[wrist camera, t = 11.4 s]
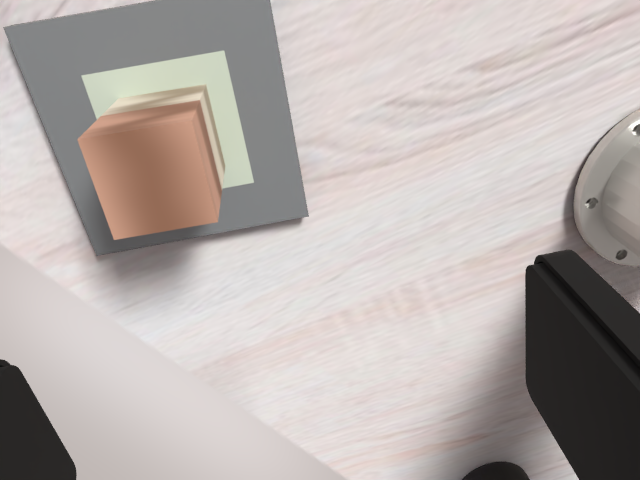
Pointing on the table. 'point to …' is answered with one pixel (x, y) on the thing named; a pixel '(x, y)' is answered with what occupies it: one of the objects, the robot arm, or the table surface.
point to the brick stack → (156, 162)
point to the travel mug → (498, 472)
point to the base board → (161, 75)
